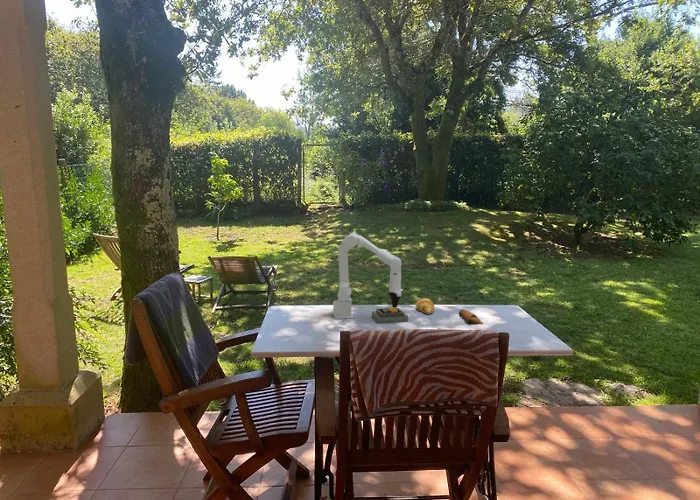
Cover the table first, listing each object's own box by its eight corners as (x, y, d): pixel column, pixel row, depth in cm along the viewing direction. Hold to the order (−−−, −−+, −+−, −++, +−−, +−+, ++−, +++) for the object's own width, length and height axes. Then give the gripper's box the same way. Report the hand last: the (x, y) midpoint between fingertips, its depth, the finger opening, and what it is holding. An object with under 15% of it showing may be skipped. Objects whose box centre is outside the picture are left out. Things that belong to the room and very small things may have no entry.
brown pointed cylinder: (484, 324, 265) (478, 313, 264) (472, 331, 266) (466, 320, 264) (473, 314, 283) (468, 304, 282) (462, 321, 283) (456, 311, 282)
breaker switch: (384, 314, 269) (384, 311, 269) (382, 311, 274) (381, 309, 274) (397, 311, 271) (397, 308, 270) (394, 309, 276) (394, 306, 275)
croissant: (434, 321, 282) (441, 308, 281) (417, 313, 281) (425, 300, 280) (425, 310, 303) (432, 298, 302) (410, 302, 301) (417, 290, 301)
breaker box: (377, 323, 266) (378, 314, 265) (371, 316, 277) (371, 308, 276) (408, 321, 269) (408, 313, 268) (400, 315, 281) (401, 307, 280)
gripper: (407, 283, 264) (406, 310, 267) (398, 278, 278) (397, 303, 281) (393, 284, 263) (393, 310, 265) (385, 278, 277) (385, 303, 279)
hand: (394, 306), depth 273 cm, fingers closed
